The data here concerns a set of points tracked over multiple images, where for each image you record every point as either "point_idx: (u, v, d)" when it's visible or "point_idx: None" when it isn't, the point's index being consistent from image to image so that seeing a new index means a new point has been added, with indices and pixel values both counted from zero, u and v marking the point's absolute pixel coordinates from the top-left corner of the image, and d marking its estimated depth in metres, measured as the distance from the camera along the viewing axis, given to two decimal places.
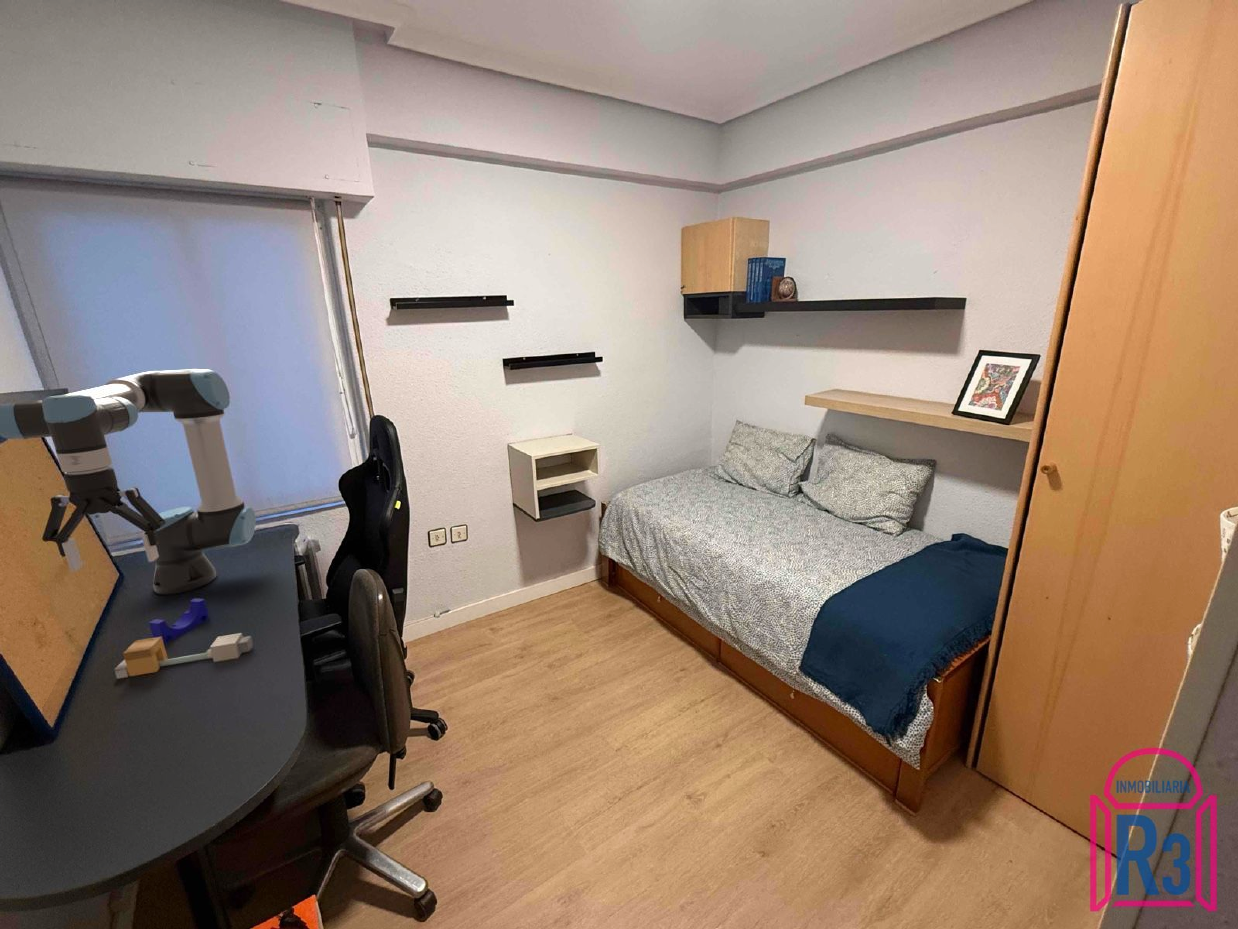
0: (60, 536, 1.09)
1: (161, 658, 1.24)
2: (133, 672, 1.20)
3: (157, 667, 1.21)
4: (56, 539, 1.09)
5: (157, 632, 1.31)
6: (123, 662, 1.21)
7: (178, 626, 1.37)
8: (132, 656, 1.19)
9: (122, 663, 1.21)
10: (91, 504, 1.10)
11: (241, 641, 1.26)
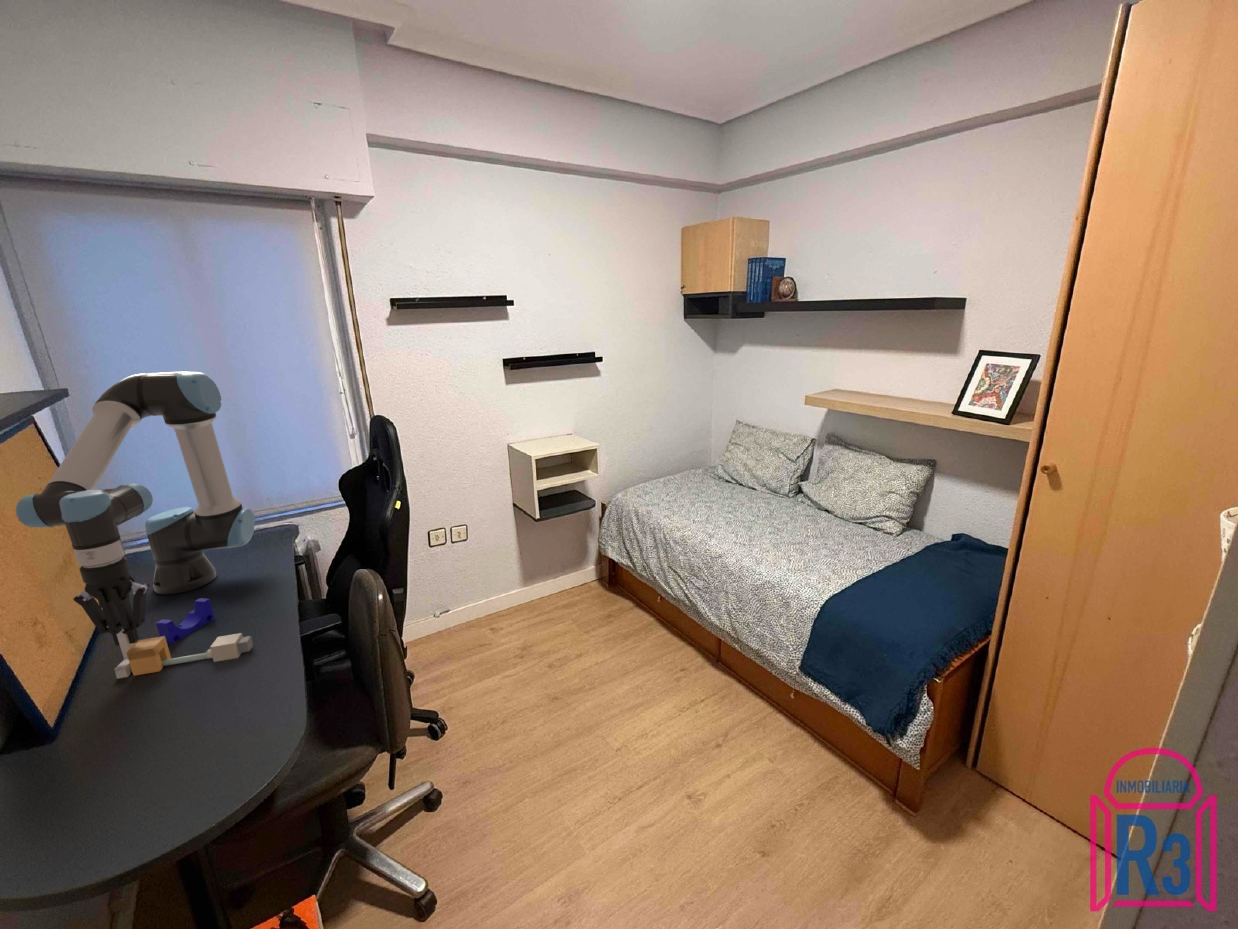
0: (111, 628, 1.17)
1: (164, 657, 1.24)
2: (136, 672, 1.20)
3: (160, 666, 1.22)
4: (111, 631, 1.17)
5: (165, 632, 1.31)
6: (123, 662, 1.21)
7: (184, 626, 1.37)
8: (135, 655, 1.19)
9: (122, 663, 1.21)
10: (105, 593, 1.15)
11: (241, 641, 1.26)
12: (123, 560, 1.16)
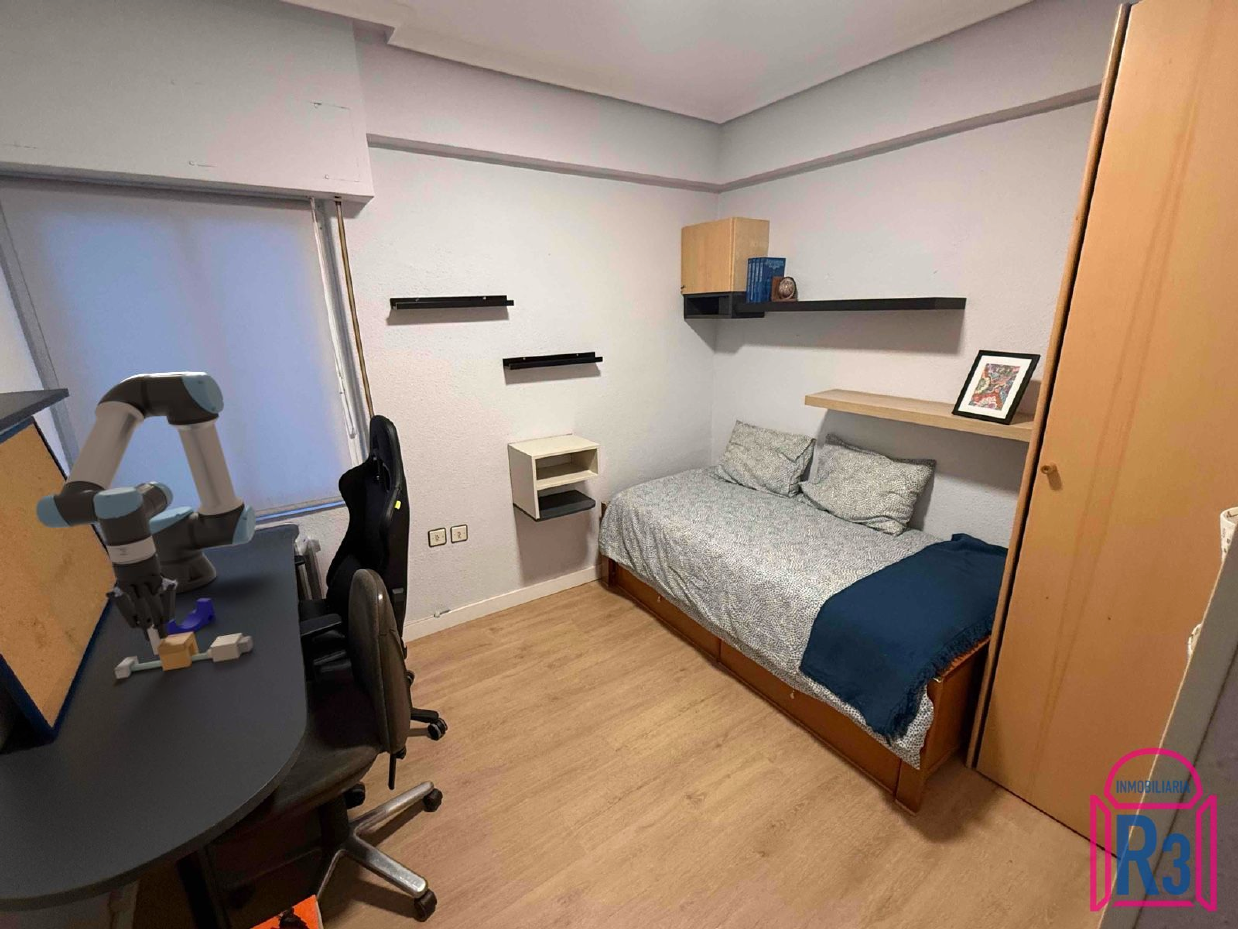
0: (142, 623, 1.19)
1: (193, 653, 1.26)
2: (166, 667, 1.21)
3: (190, 661, 1.23)
4: (142, 627, 1.19)
5: None
6: (123, 662, 1.21)
7: (186, 626, 1.37)
8: (166, 651, 1.20)
9: (122, 663, 1.21)
10: (137, 589, 1.17)
11: (241, 641, 1.26)
12: (154, 556, 1.17)
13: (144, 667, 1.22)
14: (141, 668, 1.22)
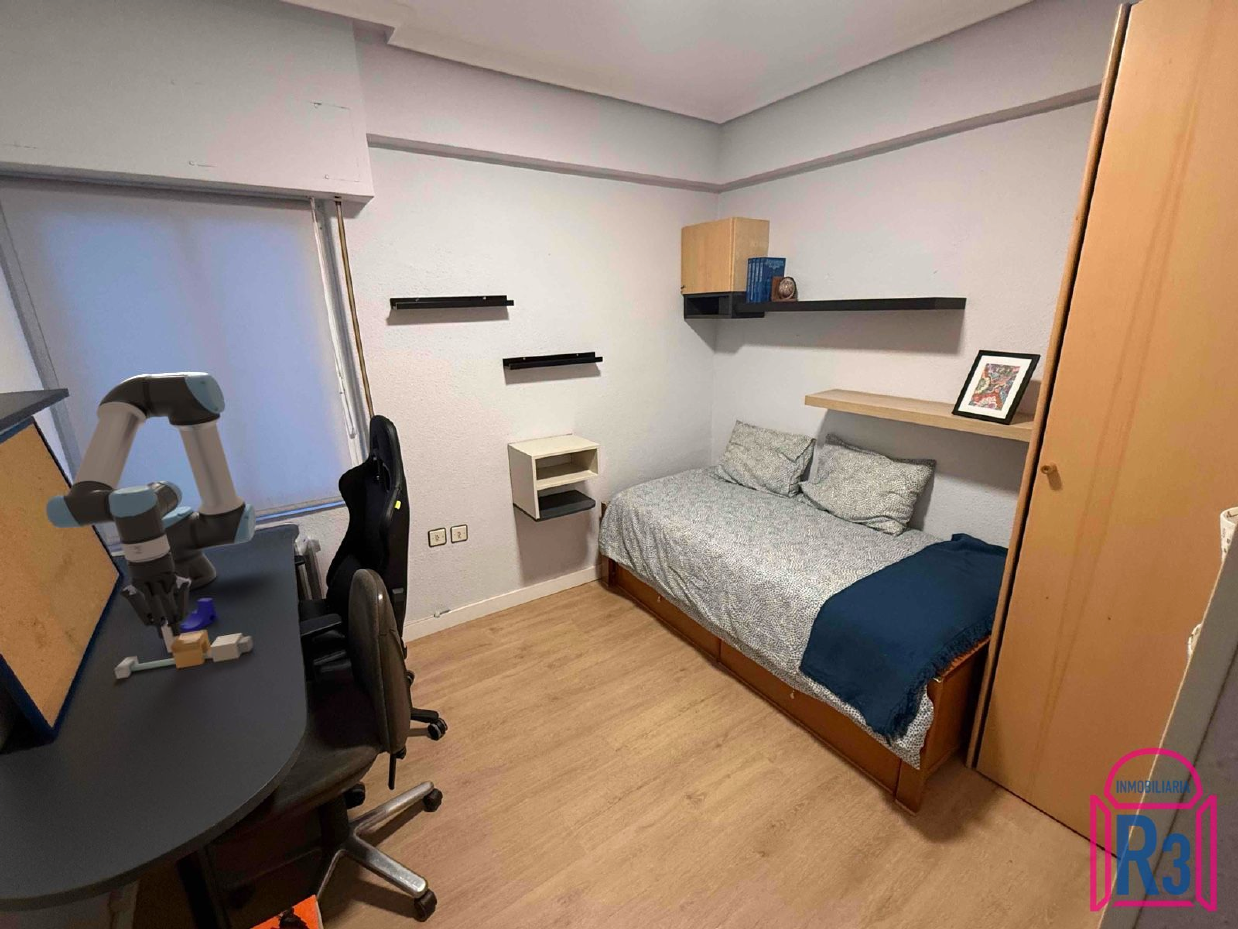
0: (156, 621, 1.20)
1: (206, 651, 1.26)
2: (180, 665, 1.22)
3: (203, 659, 1.24)
4: (155, 625, 1.20)
5: None
6: (123, 662, 1.21)
7: (188, 626, 1.37)
8: (179, 648, 1.21)
9: (122, 663, 1.21)
10: (151, 587, 1.18)
11: (241, 641, 1.26)
12: (168, 554, 1.18)
13: (144, 667, 1.22)
14: (141, 668, 1.22)
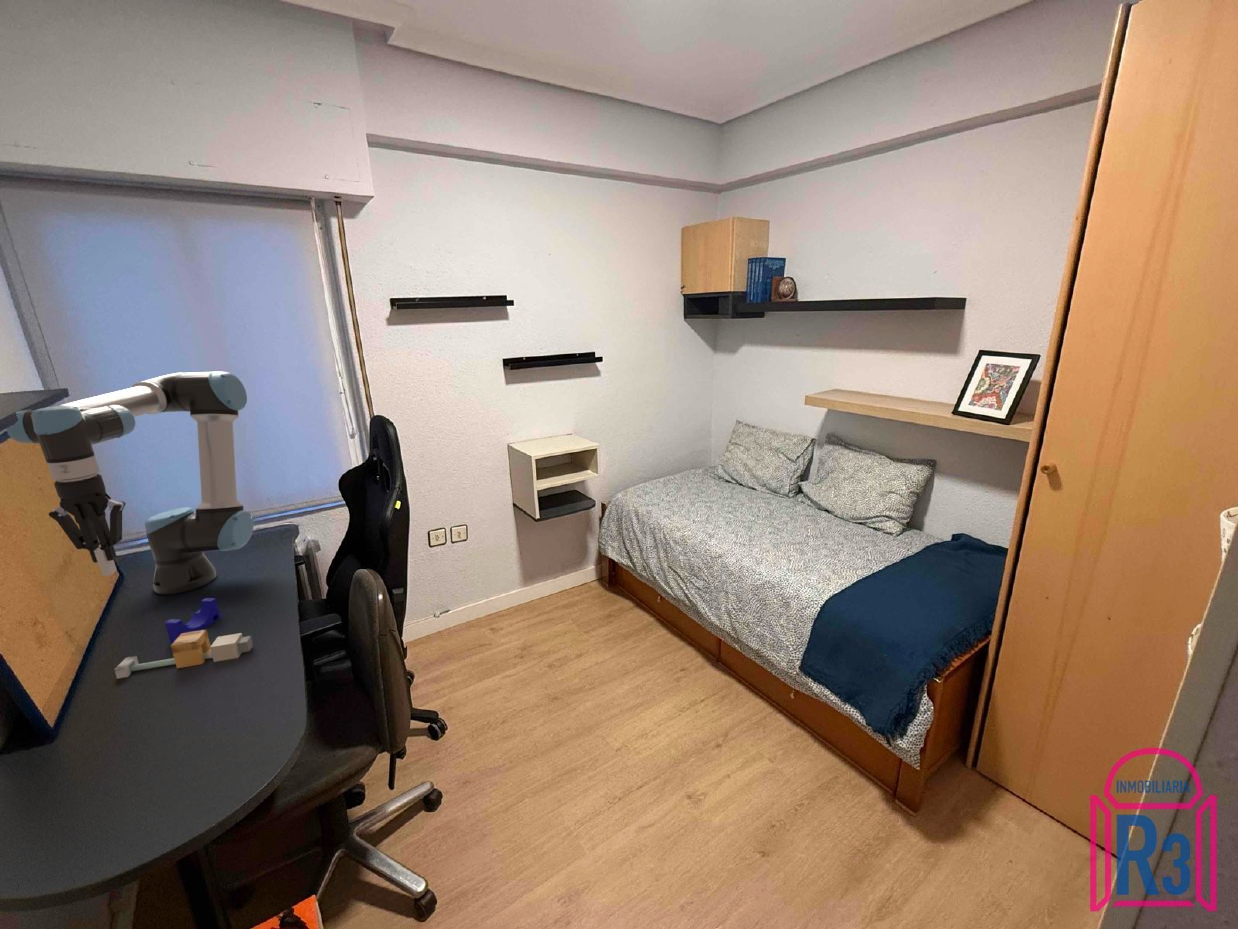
0: (88, 544, 1.19)
1: (206, 651, 1.26)
2: (180, 665, 1.22)
3: (203, 659, 1.24)
4: (88, 547, 1.19)
5: (174, 632, 1.31)
6: (123, 662, 1.21)
7: (191, 626, 1.37)
8: (179, 648, 1.21)
9: (122, 663, 1.21)
10: (81, 509, 1.17)
11: (241, 641, 1.26)
12: (98, 476, 1.17)
13: (144, 667, 1.22)
14: (141, 668, 1.22)
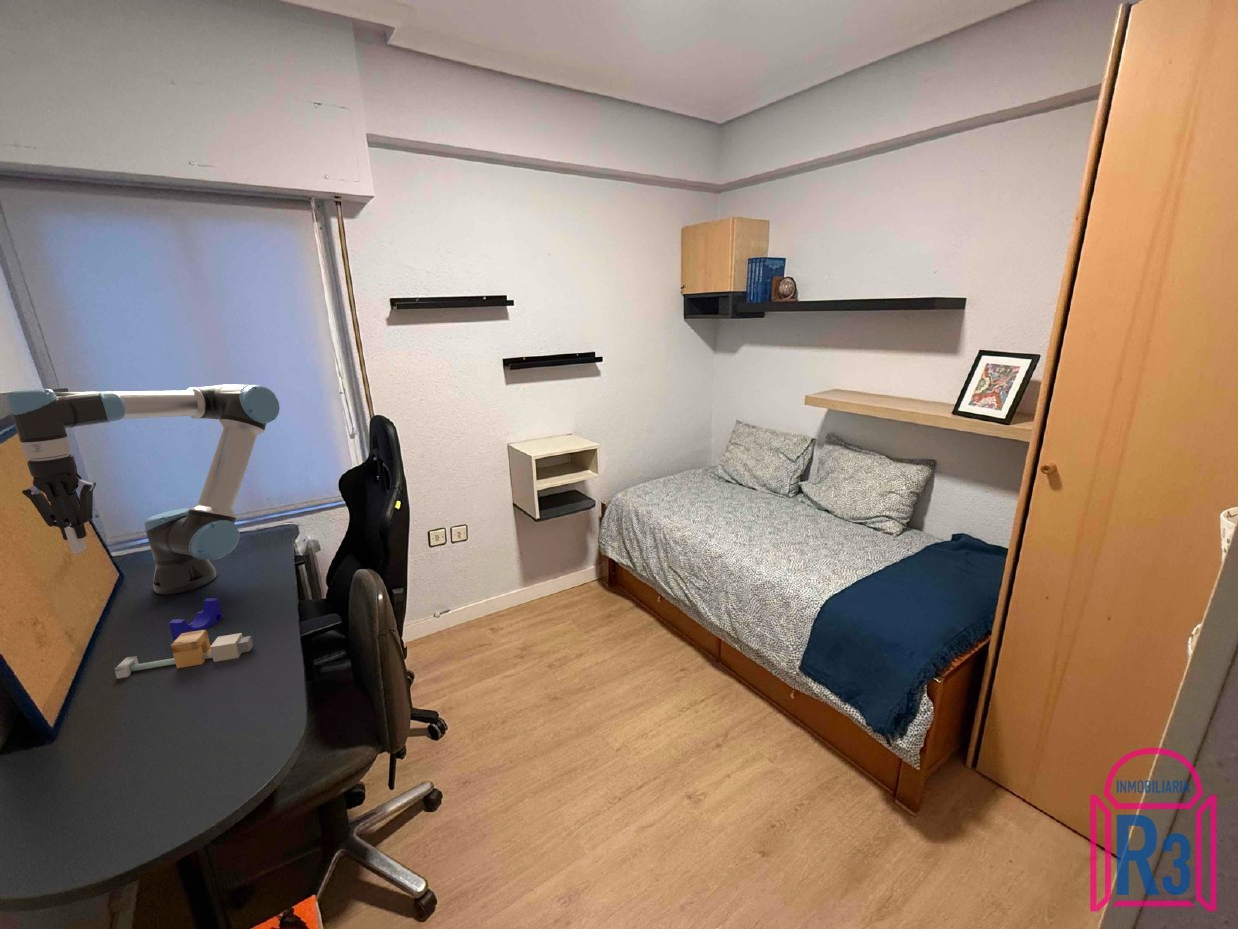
0: (59, 522, 1.25)
1: (206, 651, 1.26)
2: (180, 665, 1.22)
3: (203, 659, 1.24)
4: (59, 525, 1.25)
5: (178, 632, 1.31)
6: (123, 662, 1.21)
7: (195, 626, 1.37)
8: (179, 648, 1.21)
9: (122, 663, 1.21)
10: (53, 488, 1.23)
11: (241, 641, 1.26)
12: (70, 457, 1.23)
13: (144, 667, 1.22)
14: (141, 668, 1.22)
